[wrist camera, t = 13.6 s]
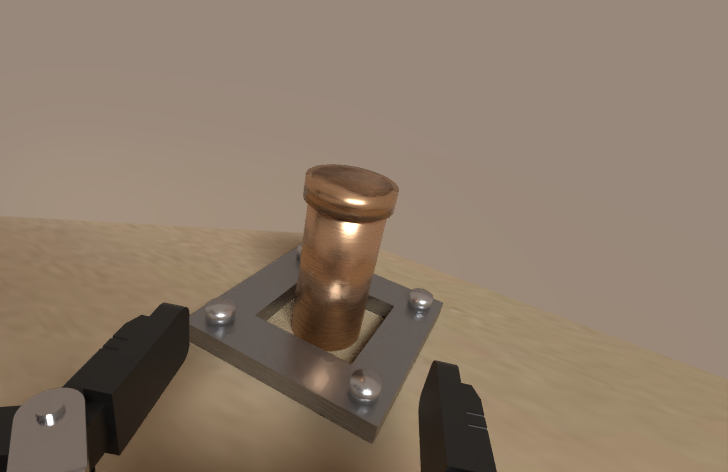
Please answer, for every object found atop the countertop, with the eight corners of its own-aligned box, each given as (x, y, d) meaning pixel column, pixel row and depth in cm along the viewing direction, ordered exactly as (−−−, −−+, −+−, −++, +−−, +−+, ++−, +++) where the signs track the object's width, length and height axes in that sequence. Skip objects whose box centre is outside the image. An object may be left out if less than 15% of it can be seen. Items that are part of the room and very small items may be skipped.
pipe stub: (270, 331, 24) (286, 176, 20) (312, 293, 29) (334, 159, 24) (342, 367, 23) (377, 208, 18) (376, 321, 27) (410, 183, 23)
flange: (182, 336, 23) (182, 308, 22) (300, 256, 33) (303, 234, 32) (372, 443, 19) (381, 414, 18) (438, 316, 29) (446, 293, 28)
